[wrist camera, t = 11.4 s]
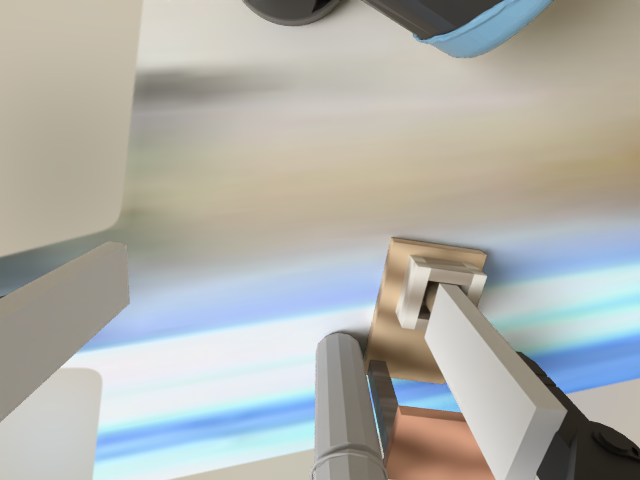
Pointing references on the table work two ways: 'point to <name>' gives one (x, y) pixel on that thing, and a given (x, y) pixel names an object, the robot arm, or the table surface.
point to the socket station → (419, 364)
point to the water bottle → (344, 415)
